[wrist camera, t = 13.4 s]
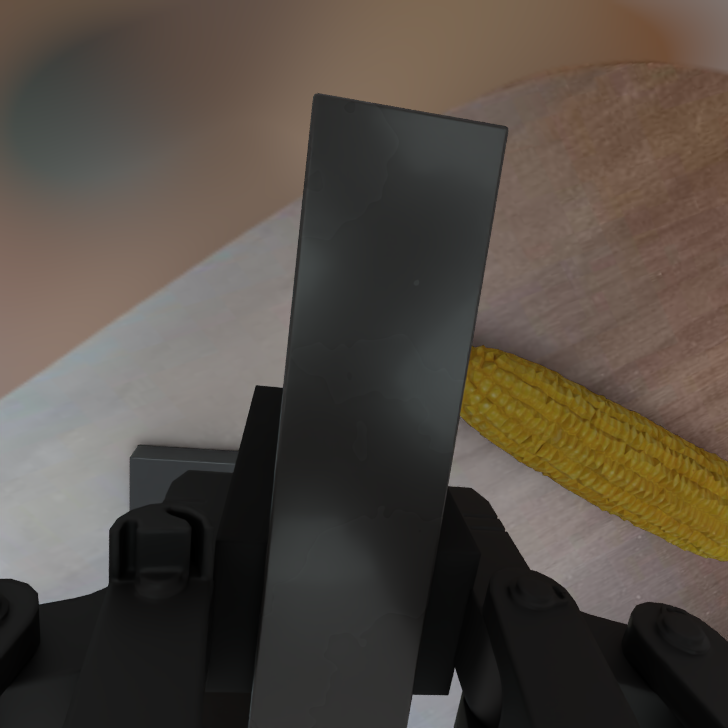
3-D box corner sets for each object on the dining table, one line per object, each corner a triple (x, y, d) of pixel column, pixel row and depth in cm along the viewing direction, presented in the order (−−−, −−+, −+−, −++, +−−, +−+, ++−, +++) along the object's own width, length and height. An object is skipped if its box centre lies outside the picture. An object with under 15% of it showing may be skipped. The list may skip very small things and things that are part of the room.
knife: (306, 176, 13) (314, 90, 6) (401, 191, 13) (510, 125, 6) (229, 911, 17) (184, 1342, 10) (303, 908, 18) (306, 1322, 11)
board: (138, 444, 28) (129, 457, 27) (392, 460, 30) (397, 473, 29) (136, 599, 31) (128, 618, 30) (370, 604, 33) (373, 622, 32)
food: (732, 459, 33) (821, 512, 27) (679, 531, 34) (754, 596, 29) (449, 311, 28) (486, 338, 23) (398, 400, 29) (421, 447, 24)
